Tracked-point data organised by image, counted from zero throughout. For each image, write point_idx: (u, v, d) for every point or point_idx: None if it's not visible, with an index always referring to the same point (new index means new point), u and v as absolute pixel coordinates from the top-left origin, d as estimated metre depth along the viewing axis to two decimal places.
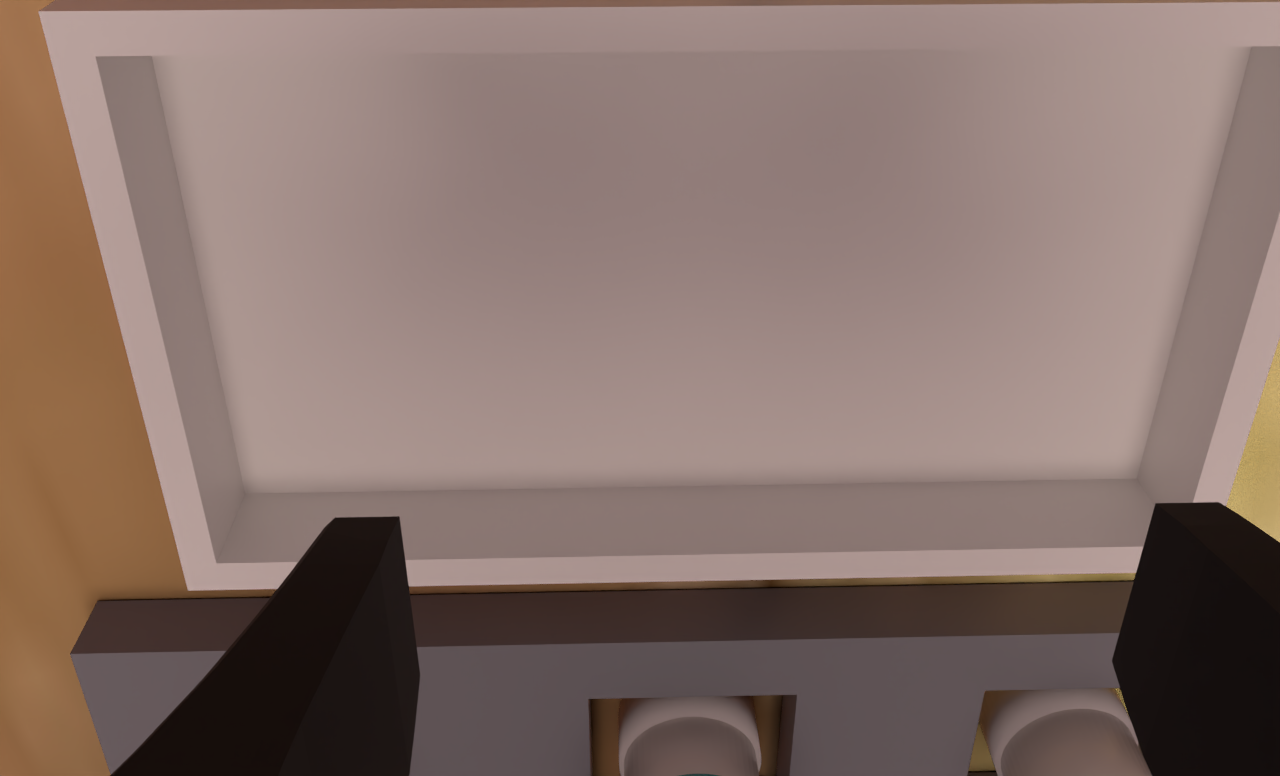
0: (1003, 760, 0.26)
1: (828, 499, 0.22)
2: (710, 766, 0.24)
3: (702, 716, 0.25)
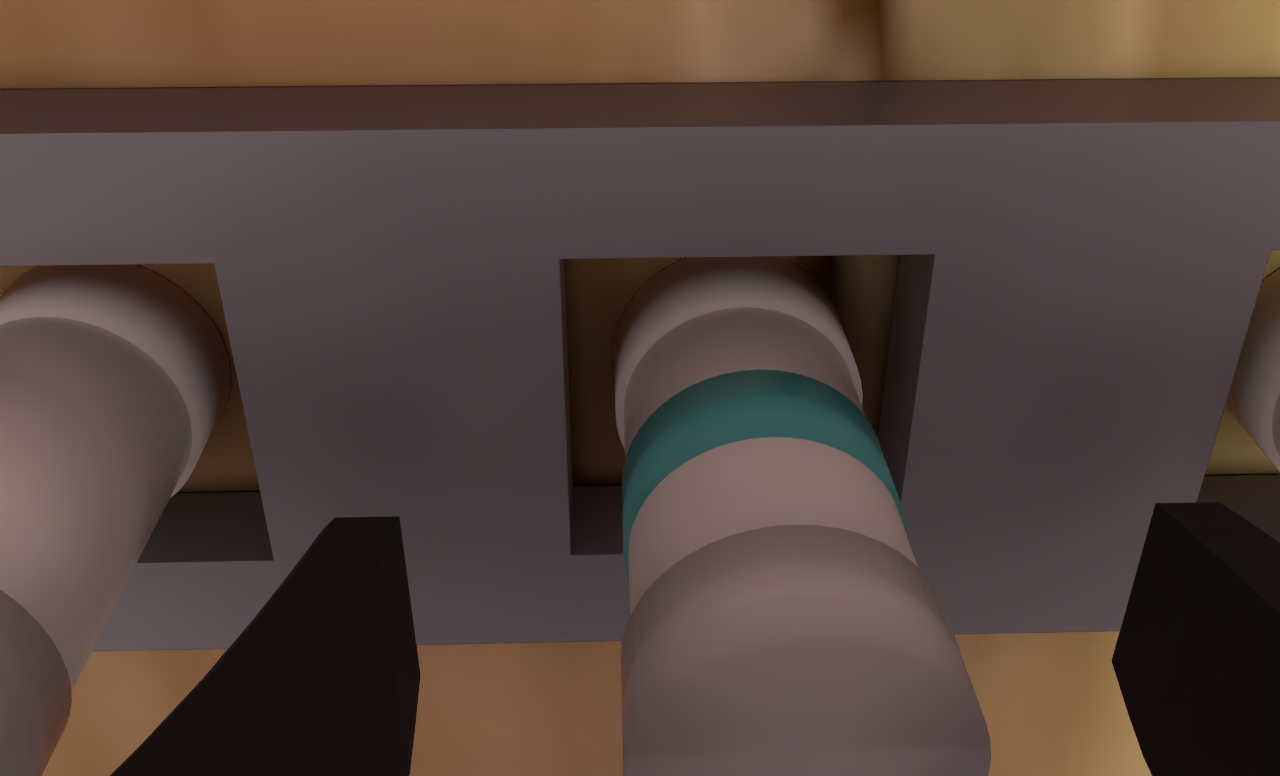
0: None
1: None
2: (782, 363, 0.13)
3: (762, 306, 0.14)
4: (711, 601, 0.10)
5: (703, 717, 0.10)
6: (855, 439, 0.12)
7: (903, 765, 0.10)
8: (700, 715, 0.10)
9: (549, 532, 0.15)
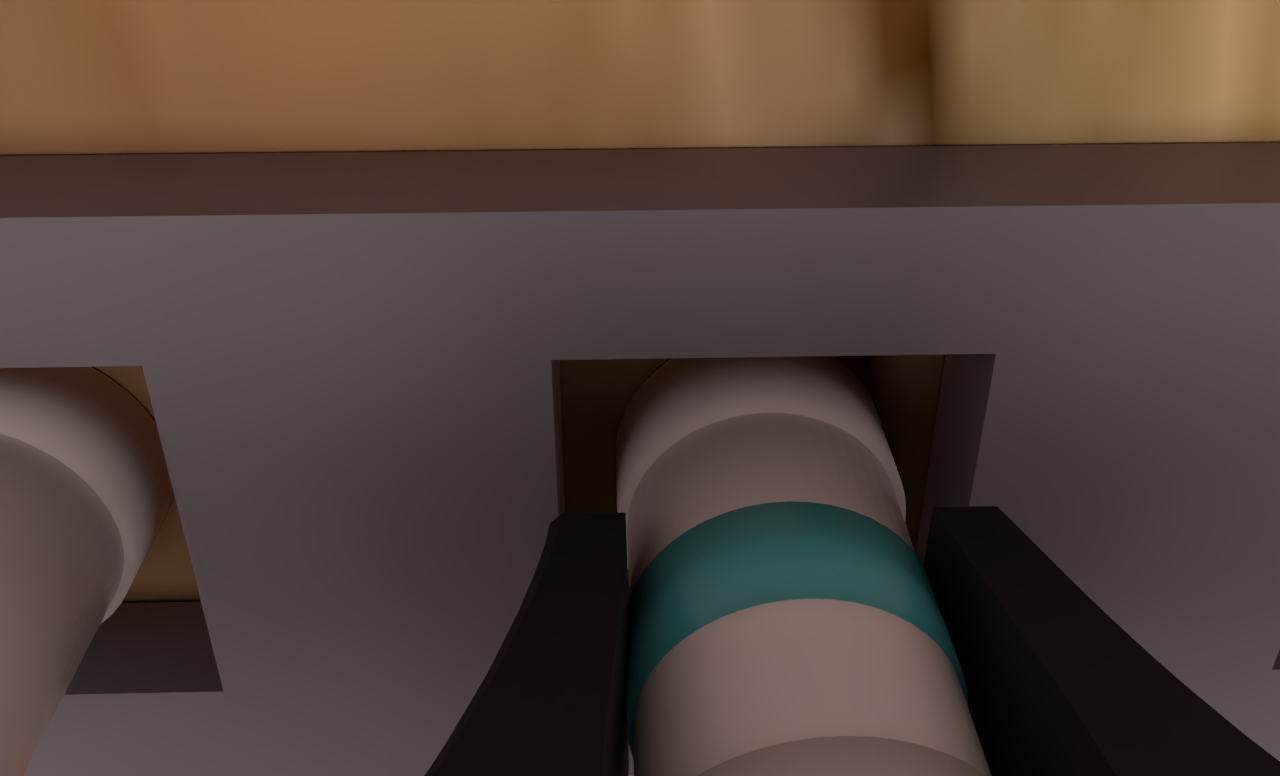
0: None
1: None
2: (817, 491, 0.11)
3: (791, 412, 0.12)
4: None
5: None
6: (908, 592, 0.10)
7: None
8: None
9: None
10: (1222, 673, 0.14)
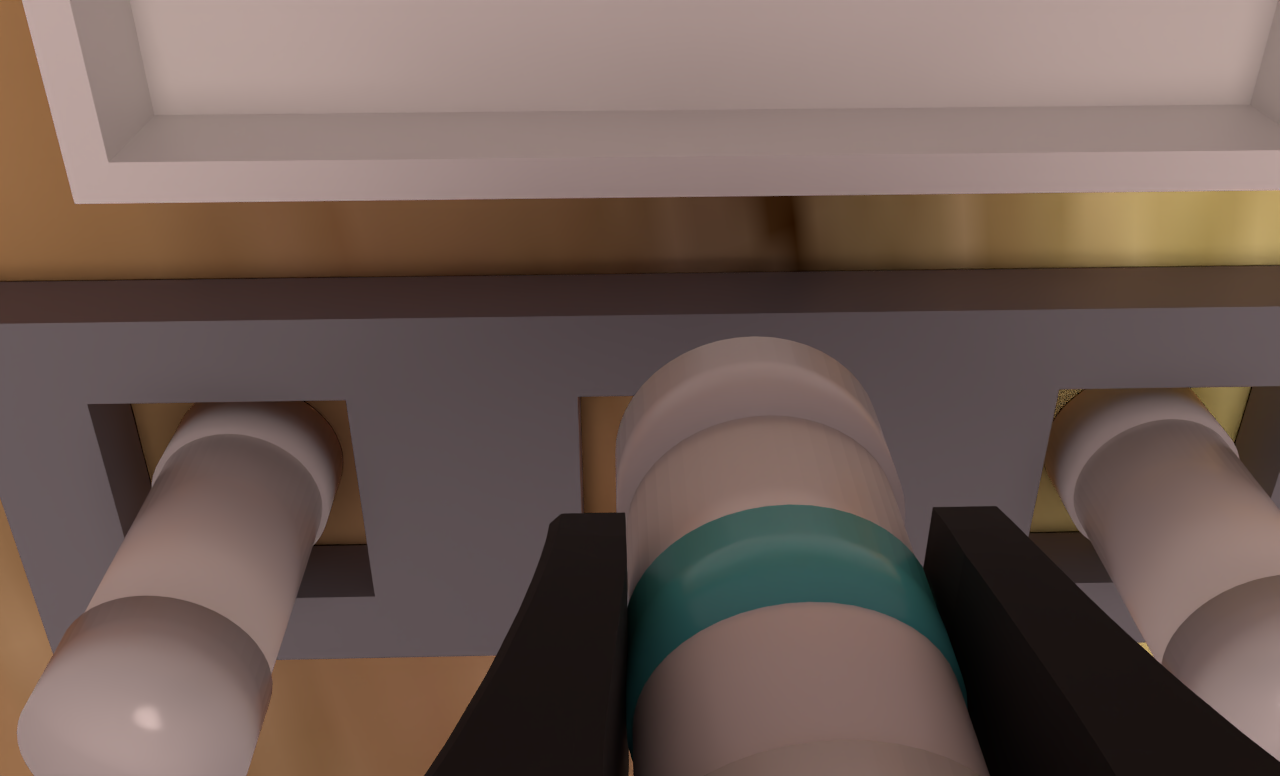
0: (1077, 489, 0.21)
1: (873, 119, 0.18)
2: (817, 494, 0.11)
3: (790, 414, 0.12)
4: None
5: None
6: (907, 595, 0.10)
7: None
8: None
9: None
10: None
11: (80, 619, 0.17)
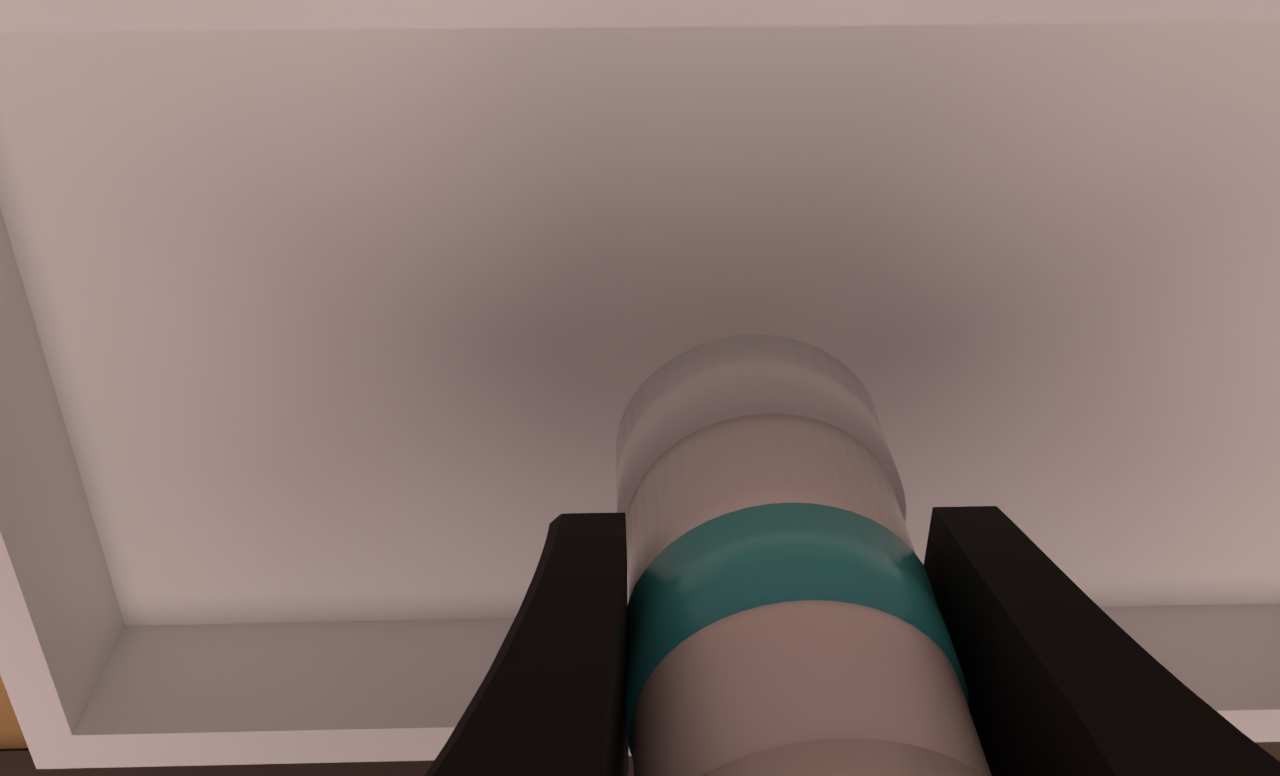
0: None
1: None
2: (818, 493, 0.11)
3: (791, 412, 0.12)
4: None
5: None
6: (908, 593, 0.10)
7: None
8: None
9: None
10: None
11: None
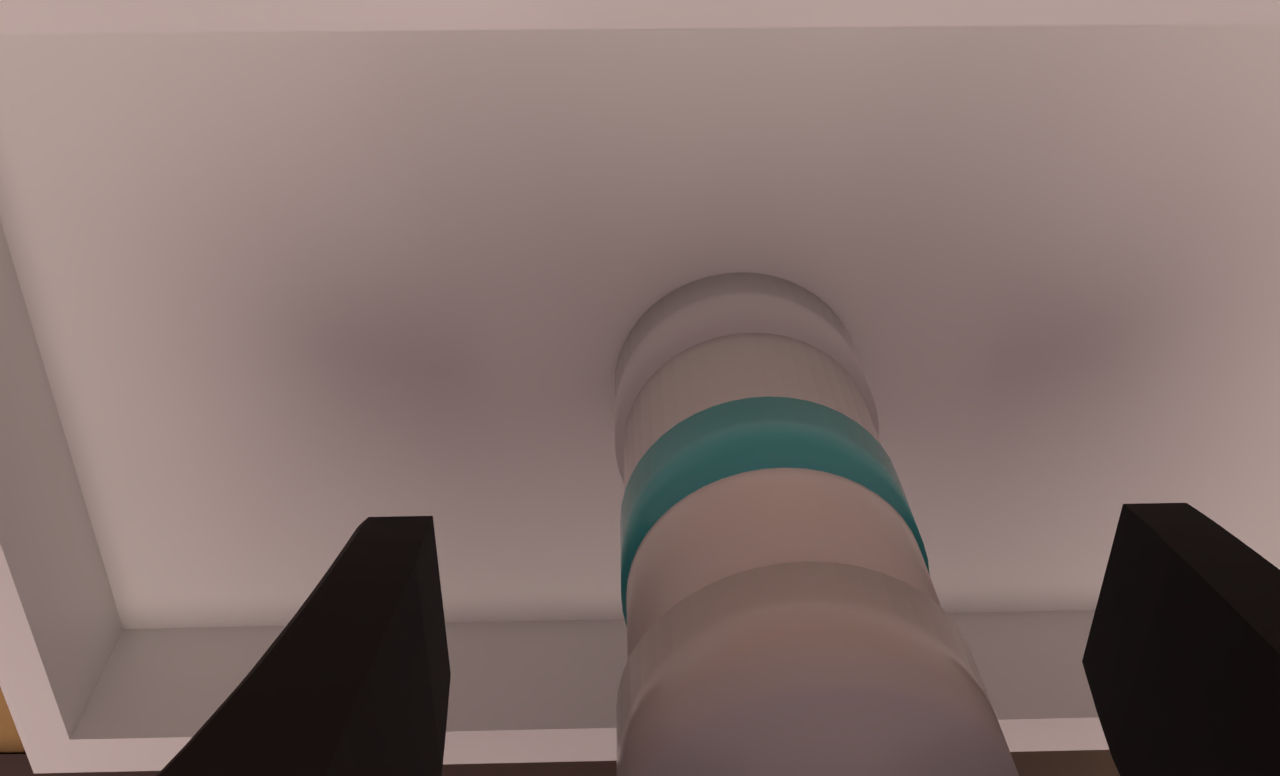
0: None
1: None
2: (794, 391, 0.12)
3: (772, 332, 0.13)
4: (715, 646, 0.09)
5: None
6: (874, 472, 0.11)
7: None
8: (703, 774, 0.09)
9: None
10: None
11: None
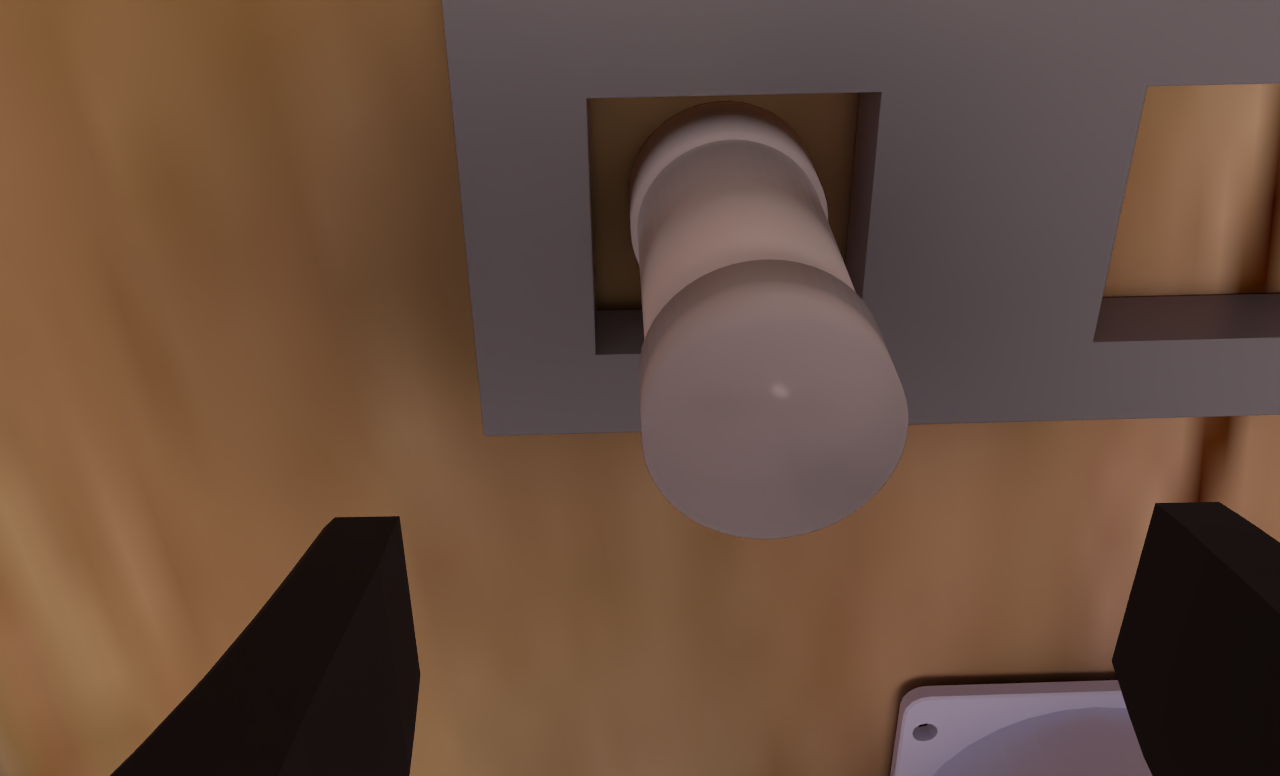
0: None
1: None
2: None
3: None
4: None
5: None
6: None
7: None
8: None
9: (1081, 322, 0.19)
10: None
11: (690, 289, 0.14)
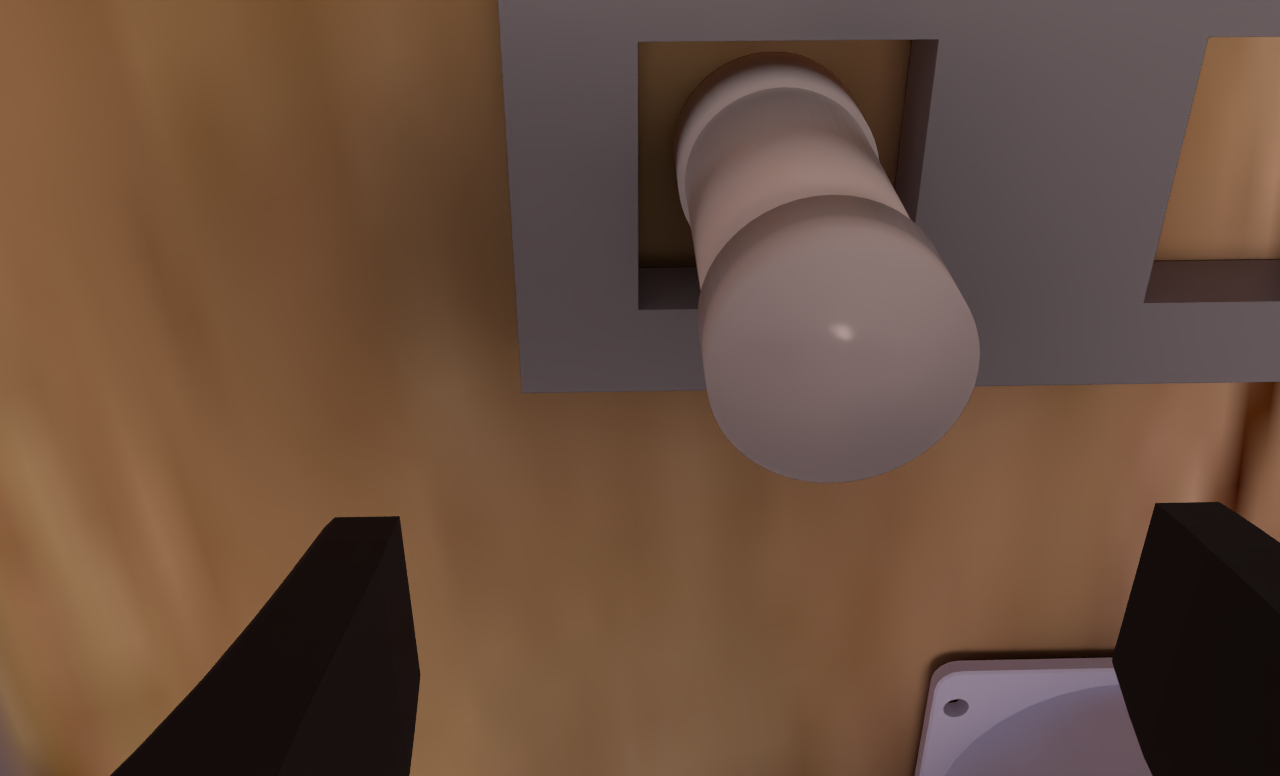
0: None
1: None
2: None
3: None
4: None
5: None
6: None
7: None
8: None
9: (1132, 282, 0.19)
10: None
11: (754, 224, 0.14)
